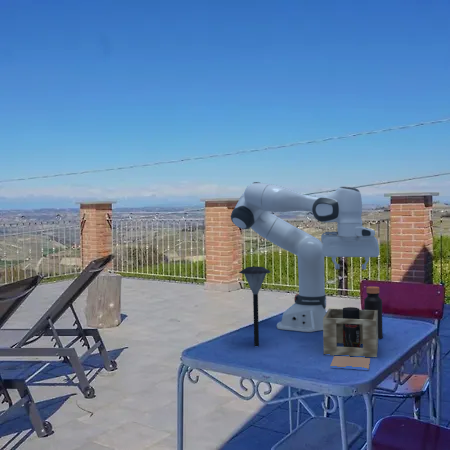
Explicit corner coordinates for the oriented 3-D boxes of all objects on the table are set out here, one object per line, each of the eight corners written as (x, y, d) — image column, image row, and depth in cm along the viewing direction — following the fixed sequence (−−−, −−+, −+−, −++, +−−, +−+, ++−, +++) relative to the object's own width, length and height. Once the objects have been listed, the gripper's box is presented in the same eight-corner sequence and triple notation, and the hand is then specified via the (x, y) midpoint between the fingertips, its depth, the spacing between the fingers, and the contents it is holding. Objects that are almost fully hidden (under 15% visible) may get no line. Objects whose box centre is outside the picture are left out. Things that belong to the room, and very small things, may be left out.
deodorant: (357, 352, 185) (356, 310, 185) (341, 350, 188) (340, 309, 188) (362, 348, 190) (361, 308, 190) (346, 346, 193) (345, 306, 193)
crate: (323, 354, 183) (323, 318, 183) (329, 342, 200) (329, 308, 200) (376, 358, 178) (376, 320, 177) (378, 344, 195) (377, 310, 194)
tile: (330, 368, 168) (330, 365, 168) (334, 357, 179) (334, 355, 179) (368, 371, 164) (368, 368, 164) (370, 360, 176) (370, 357, 176)
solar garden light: (275, 342, 201) (274, 265, 200) (268, 351, 189) (267, 269, 188) (245, 341, 205) (243, 265, 204) (236, 349, 193) (234, 269, 192)
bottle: (364, 338, 204) (363, 288, 203) (365, 334, 210) (364, 285, 210) (382, 340, 202) (381, 288, 201) (383, 335, 208) (382, 286, 207)
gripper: (319, 232, 188) (320, 270, 189) (378, 231, 182) (379, 270, 182) (322, 231, 194) (322, 268, 195) (379, 230, 188) (379, 268, 188)
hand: (350, 269), depth 188 cm, fingers open, 8 cm apart
